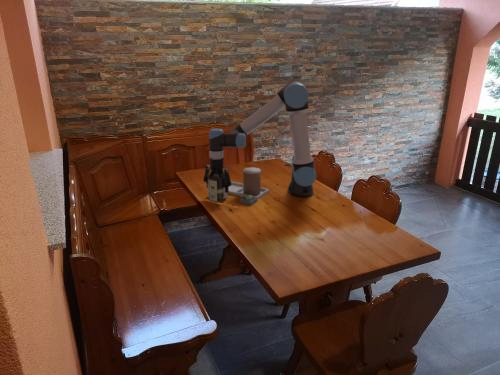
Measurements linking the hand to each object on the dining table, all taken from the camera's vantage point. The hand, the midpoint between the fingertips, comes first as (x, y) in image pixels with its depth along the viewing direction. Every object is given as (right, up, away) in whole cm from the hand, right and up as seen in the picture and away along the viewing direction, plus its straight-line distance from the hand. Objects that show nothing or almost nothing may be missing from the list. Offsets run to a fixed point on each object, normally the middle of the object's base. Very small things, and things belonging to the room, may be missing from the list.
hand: (217, 195), depth 207 cm
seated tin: (+19, +1, +7) cm, 21 cm away
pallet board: (+13, +2, +11) cm, 17 cm away
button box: (+18, -4, -4) cm, 19 cm away
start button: (+18, -3, -5) cm, 18 cm away
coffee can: (0, -2, +1) cm, 3 cm away
